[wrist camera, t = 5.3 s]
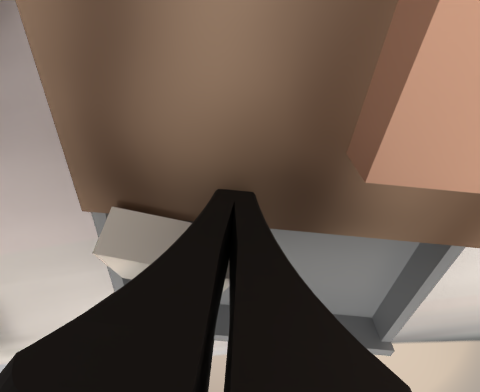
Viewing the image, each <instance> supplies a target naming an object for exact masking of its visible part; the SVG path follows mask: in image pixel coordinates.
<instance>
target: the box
mask: <svg viewBox="0 0 480 392" xmlns="http://www.w3.org/2000/svg"><path fill="white" fill-rule="evenodd" d="M91 213H92V217H93V220H94V224H95V227H96V230H97V234H98V237H99V236H100V234H101V232H102V229H103V227H104V224H105V222H106V219H107V217H108V213H97V212H91ZM181 221H183V220H181ZM186 222H190V223H193V222H194V221H186ZM270 230H271V232H272V234H273V236H274V237H275V239H276V241H277V243H278V244H279V246H280V248H281V249H282V251H283V252H284V254H285V255H286V257H287V258H288V260H289V261H290V263H291V264H292V266H293V267H294V268H295V270H296V271H297V273H298V274H299V275H300V277H301V278H302V279H303V280H304V282H305V283H306V284H307V285H308V287H309V288H310V289H311V290H312V292H313V293H314V294H315V295H316V296H317V297H318V299H319V300H320V301H321V302H322V303H323V304H324V305H325V306H326V307H327V308H328V310H329V311H330V312H331V313H332V314H333V315H334V316H335V317H336V318H337V320H338V321H339V322H340V323H341V324H342V325H343V326H344V327H345V328H346V329H347V330H348V331H349V332H350V333H351V334H352V335H353V336H354V337H355V338H356V339H357V340H358V341H359V342H360V343H361V344H362V345H363V346H364V347H365V348H367V349H368V350H369V351H370V352H371V353H372V354H375V355H387V356H391V355H392V353H393V352H394V349H393V346H392V343H391V341H392V340H393V339H394V338H395V336H396V335H397V334H398V333H399V331H400V330H401V329H402V327H403V326H404V325H405V324H406V322H407V321H408V320H409V319H410V317H411V316H412V315H413V313H414V312H415V311H416V310H417V308H418V307H419V306H420V304H421V303H422V302H423V301H424V299H425V298H426V297H427V296H428V294H429V293H430V292H431V290H432V289H433V288H434V287H435V285H436V284H437V283H438V281H439V280H440V279H441V278H442V276H443V275H444V274H445V273H446V271H447V270H448V269H449V267H450V266H451V265H452V264H453V262H454V261H455V260H456V259H457V257H458V256H459V255H460V253H461V252H462V251H463V250H464V248H465V247H463V246H452V245H441V244H430V243H420V242H409V241H398V240H387V239H377V238H366V237H355V236H344V235H334V234H323V233H312V232H301V231H290V230H280V229H270ZM107 268H108V271H109V275H110V278H111V281H112V285H113V288H114V292H116V291H117V290H118V289H120V288H121V287H123V286H124V285H125V284H127V283H128V282H129V281H131V279H126V278H122V277H121V276H120V275H118V274H117V273H116V272H115V271H113V270H112V269H111V268H110V267H109V266H107ZM229 317H230V312H229V287H228V288H227V289H226V290H225V291H224V292H223V293H222V297H221V302H220V306H219V311H218V316H217V322H216V328H215V336H214V340H217V341H228V337H229Z"/></svg>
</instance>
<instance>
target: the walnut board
mask: <svg viewBox="0 0 480 392" xmlns="http://www.w3.org/2000/svg"><path fill="white" fill-rule="evenodd" d="M15 1H16V4H17V7H18V10H19V13H20V16H21V20H22V23H23V26H24V29H25V32H26V35H27V39H28V42H29V45H30V48H31V51H32V54H33V57H34V61H35V64H36V67H37V70H38V73H39V76H40V80H41V83H42V86H43V89H44V92H45V95H46V98H47V102H48V105H49V108H50V111H51V114H52V117H53V121H54V124H55V127H56V130H57V133H58V136H59V139H60V143H61V146H62V149H63V152H64V155H65V158H66V161H67V165H68V168H69V171H70V174H71V177H72V180H73V184H74V187H75V190H76V193H77V196H78V199H79V202H80V206H81V209H82V211H86V212H97V213H108V214H109V212H110V210H111V207H117V208H122V209H127V210H132V211H136V212H141V213H146V214H151V215H156V216H161V217H166V218H171V219H176V220H183V221H194V220H195V219H196V218H197V217H198V215H199V214H200V213H201V212H202V210H203V209H204V208H205V206H206V205H207V203H208V202H209V201H210V199H211V197H212V196H213V194H214V192H215V191H216V190H217V189H227V190H237V191H248V192H253V193H254V194H255V195H256V198H257V202H258V204H259V207H260V209H261V212H262V214H263V216H264V218H265V220H266V222H267V224H268V226H269V228H270V229H280V230H290V231H301V232H312V233H323V234H334V235H344V236H355V237H366V238H377V239H387V240H398V241H409V242H420V243H430V244H441V245H452V246H463V247H473V248H480V194H479V193H469V192H458V191H448V190H437V189H427V188H416V187H406V186H395V185H385V184H374V183H365V182H364V180H363V179H362V177H361V176H360V174H359V172H358V171H357V169H356V168H355V166H354V165H353V163H352V162H351V160H350V159H349V157H348V155H347V151H348V148H349V145H350V142H351V139H352V136H353V133H354V130H355V127H356V124H357V121H358V118H359V115H360V112H361V109H362V106H363V103H364V100H365V97H366V94H367V91H368V89H369V86H370V83H371V80H372V77H373V74H374V71H375V68H376V65H377V62H378V59H379V56H380V53H381V50H382V47H383V44H384V41H385V38H386V35H387V32H388V29H389V26H390V23H391V20H392V18H393V15H394V12H395V9H396V6H397V3H398V0H15Z"/></svg>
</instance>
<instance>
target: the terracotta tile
mask: <svg viewBox="0 0 480 392" xmlns="http://www.w3.org/2000/svg"><path fill="white" fill-rule="evenodd" d="M347 155H348V157H349V159H350V160H351V162H352V163H353V165H354V166H355V168H356V169H357V171H358V172H359V174H360V176H361V177H362V179H363V180H364V182H365V183H374V184H385V185H395V186H406V187H416V188H427V189H437V190H448V191H458V192H469V193H479V194H480V0H398V3H397V6H396V9H395V12H394V15H393V18H392V20H391V23H390V26H389V29H388V32H387V35H386V38H385V41H384V44H383V47H382V50H381V53H380V56H379V59H378V62H377V65H376V68H375V71H374V74H373V77H372V80H371V83H370V86H369V89H368V91H367V94H366V97H365V100H364V103H363V106H362V109H361V112H360V115H359V118H358V121H357V124H356V127H355V130H354V133H353V136H352V139H351V142H350V145H349V148H348V151H347Z"/></svg>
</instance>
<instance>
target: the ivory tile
mask: <svg viewBox="0 0 480 392" xmlns="http://www.w3.org/2000/svg"><path fill="white" fill-rule="evenodd" d="M191 224H192V223H190V222H186V221H181V220H176V219H171V218H166V217H161V216H156V215H151V214H146V213H141V212H136V211H132V210H127V209H122V208H117V207H111V210H110V212H109V214H108V217H107V219H106V222H105V224H104V227H103V229H102V232H101V234H100V236H99V239H98V241H97V244H96V246H95V249H94V251H93V253H92V254H94V255H95V256H96V257H97V258H99V259H100V260H101V261H102V262H104V263H105V264H106V265H107V266H109V267H110V268H111V269H112V270H113V271H115V272H116V273H117V274H118V275H120V276H121V277H122V278H126V279H131V280H132V279H133V278H134V277H136V276H137V275H138V274H139V273H141V272H142V271H143V270H144V269H146V268H147V267H148V266H149V265H150V264H152V263H153V262H154V261H155V260H156V259H157V258H158V257H160V256H161V255H162V254H163V253H164V252H165V251H166V250H167V249H168V248H169V247H170V246H171V245H172V244H173V243H174V242H175V241H176V240H177V239H178V238H179V237H180V236H181V235H182V234H183V233H184V232H185V231H186V230H187V228H188V227H189V226H190V225H191ZM228 287H229V263H228V268H227V272H226V277H225V282H224V287H223V292H224V291H225V290H226V289H227V288H228ZM223 292H222V293H223Z"/></svg>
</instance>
